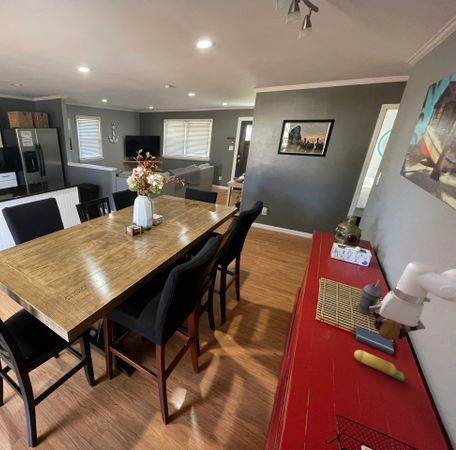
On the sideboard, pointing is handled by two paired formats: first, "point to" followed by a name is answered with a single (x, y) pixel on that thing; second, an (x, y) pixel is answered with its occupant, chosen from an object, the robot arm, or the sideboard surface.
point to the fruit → (389, 330)
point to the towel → (374, 340)
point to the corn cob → (378, 364)
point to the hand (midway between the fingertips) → (387, 331)
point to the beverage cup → (369, 297)
